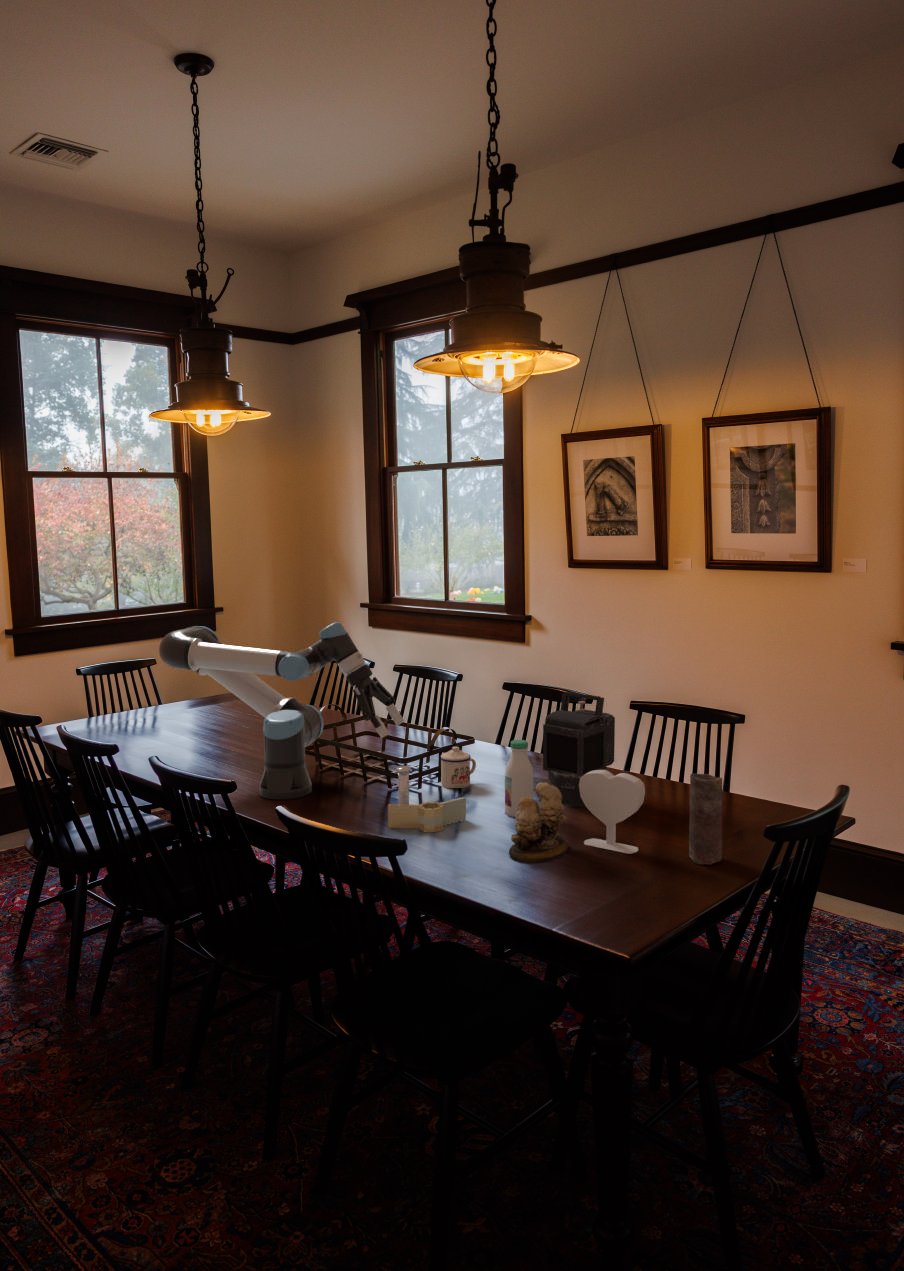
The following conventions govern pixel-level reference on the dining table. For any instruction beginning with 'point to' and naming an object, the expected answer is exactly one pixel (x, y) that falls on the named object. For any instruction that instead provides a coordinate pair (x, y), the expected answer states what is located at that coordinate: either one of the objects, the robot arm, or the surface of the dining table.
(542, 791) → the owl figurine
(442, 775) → the teacup with lid
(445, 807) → the pale green hinge leaf
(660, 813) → the dining table surface
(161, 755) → the dining table surface
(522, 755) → the milk bottle
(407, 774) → the hinge pin
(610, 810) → the heart sculpture
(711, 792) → the dark stone pillar
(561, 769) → the lantern
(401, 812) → the brass leaf
